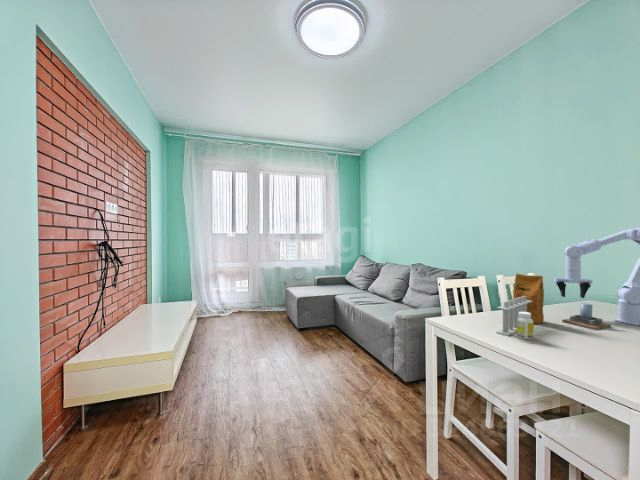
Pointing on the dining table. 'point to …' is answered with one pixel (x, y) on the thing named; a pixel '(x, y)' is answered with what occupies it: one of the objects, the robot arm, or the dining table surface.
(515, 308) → the test tube rack
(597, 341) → the dining table surface
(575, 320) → the holder
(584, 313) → the tube
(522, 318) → the supplement bottle
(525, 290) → the coffee package
